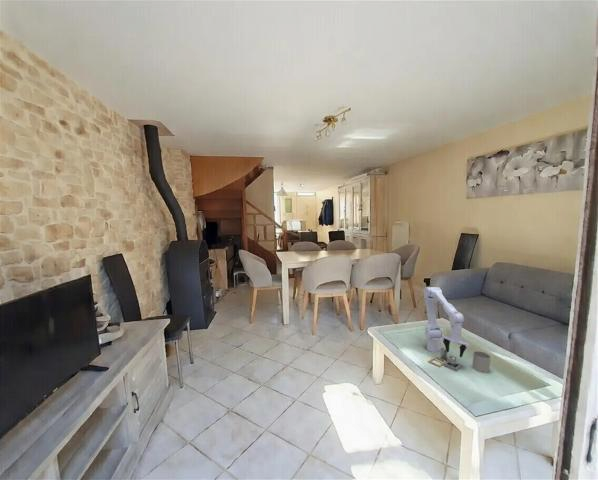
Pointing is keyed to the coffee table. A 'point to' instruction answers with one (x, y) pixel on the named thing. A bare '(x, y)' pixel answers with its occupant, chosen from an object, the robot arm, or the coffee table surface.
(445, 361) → the tray
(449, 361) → the cradle
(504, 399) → the coffee table surface
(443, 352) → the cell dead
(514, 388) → the coffee table surface
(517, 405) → the coffee table surface
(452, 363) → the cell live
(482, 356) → the cup
